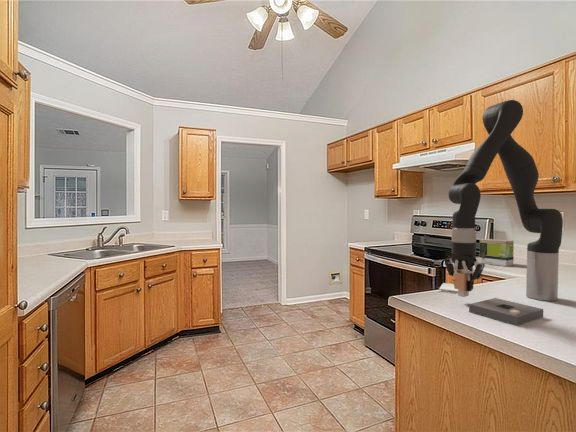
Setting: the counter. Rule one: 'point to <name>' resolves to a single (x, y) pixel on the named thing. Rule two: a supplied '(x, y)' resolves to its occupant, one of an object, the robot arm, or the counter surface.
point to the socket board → (506, 311)
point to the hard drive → (448, 288)
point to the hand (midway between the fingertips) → (463, 289)
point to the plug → (460, 284)
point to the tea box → (496, 252)
